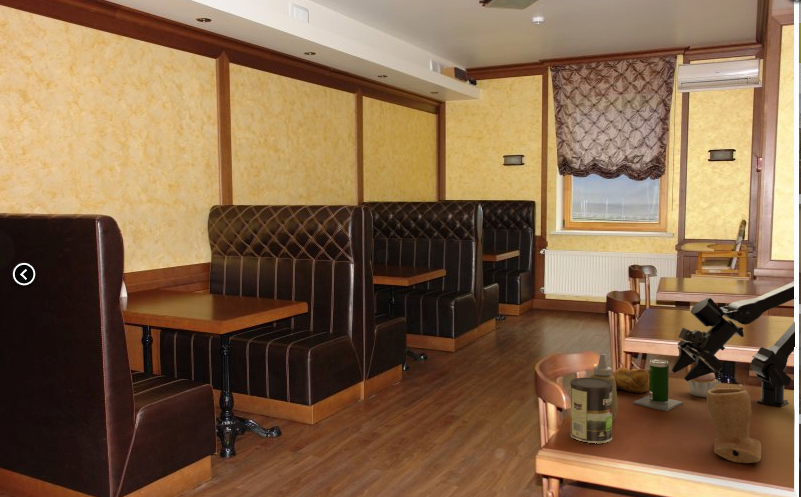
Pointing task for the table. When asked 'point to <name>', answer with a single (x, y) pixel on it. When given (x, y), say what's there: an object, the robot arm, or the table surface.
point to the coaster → (664, 407)
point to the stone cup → (733, 425)
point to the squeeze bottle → (605, 373)
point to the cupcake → (702, 384)
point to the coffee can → (591, 410)
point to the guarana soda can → (658, 381)
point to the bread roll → (632, 380)
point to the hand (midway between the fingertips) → (679, 375)
